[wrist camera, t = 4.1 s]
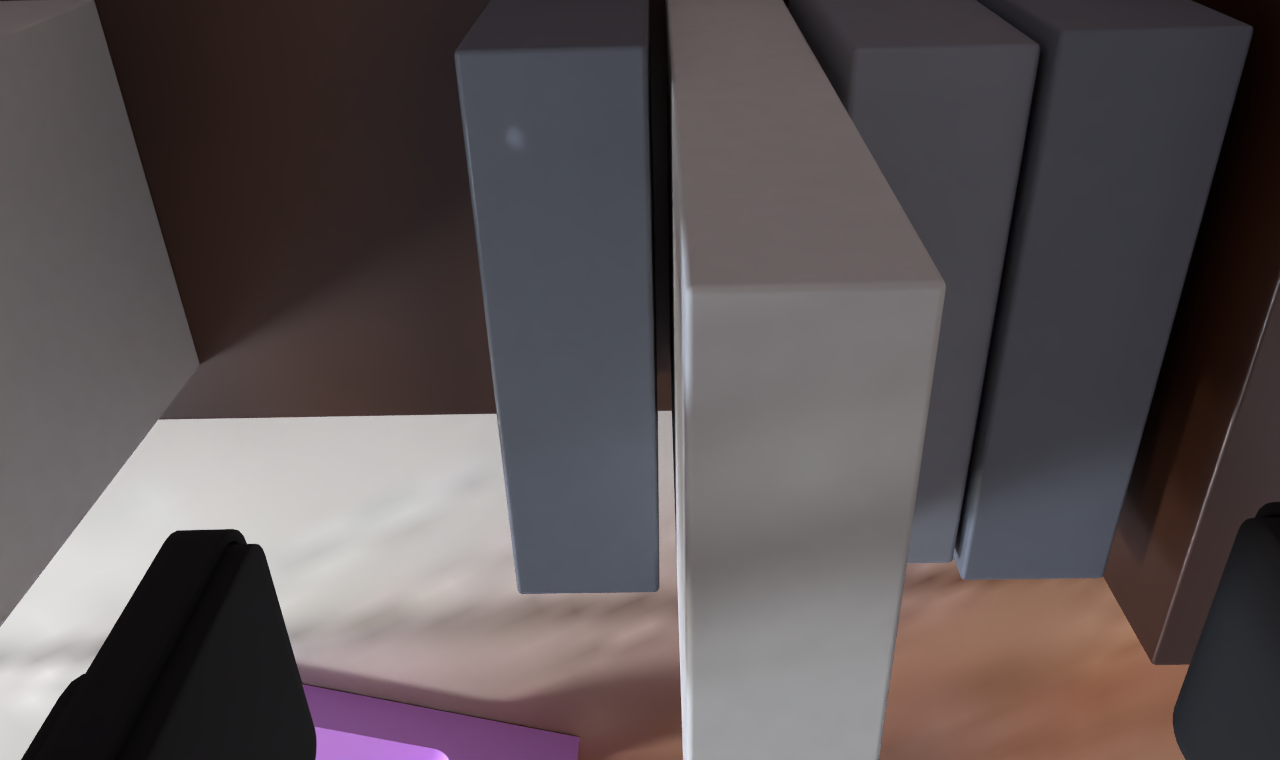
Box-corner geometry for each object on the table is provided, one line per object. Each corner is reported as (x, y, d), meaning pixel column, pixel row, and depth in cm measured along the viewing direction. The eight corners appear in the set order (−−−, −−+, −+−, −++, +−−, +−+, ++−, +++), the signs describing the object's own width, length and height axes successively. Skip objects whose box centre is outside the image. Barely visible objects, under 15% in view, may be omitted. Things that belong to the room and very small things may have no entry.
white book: (772, -21, 19) (949, 282, 8) (758, 354, 23) (860, 906, 12) (665, -17, 19) (685, 288, 8) (670, 356, 23) (687, 907, 12)
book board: (1145, -127, 19) (1499, -54, 11) (1041, 378, 25) (1225, 665, 17) (-221, -88, 19) (-813, 9, 12) (-15, 397, 25) (-320, 683, 17)
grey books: (1060, -58, 18) (1266, 29, 12) (986, 369, 23) (1108, 588, 17) (518, -42, 19) (452, 49, 12) (553, 377, 23) (517, 596, 17)
